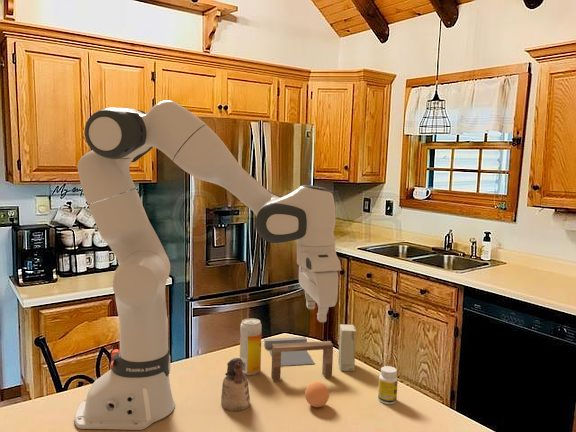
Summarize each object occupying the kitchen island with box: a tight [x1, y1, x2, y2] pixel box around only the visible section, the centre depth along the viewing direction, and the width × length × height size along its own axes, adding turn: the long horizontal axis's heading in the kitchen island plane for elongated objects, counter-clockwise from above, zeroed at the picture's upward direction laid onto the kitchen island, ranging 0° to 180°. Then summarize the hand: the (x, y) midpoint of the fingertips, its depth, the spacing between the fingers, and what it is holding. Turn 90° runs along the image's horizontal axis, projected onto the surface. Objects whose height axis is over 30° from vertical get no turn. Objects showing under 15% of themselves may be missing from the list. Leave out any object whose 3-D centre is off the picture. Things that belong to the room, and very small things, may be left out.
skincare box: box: [338, 323, 357, 372], centre depth 141 cm, size 6×4×12 cm
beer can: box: [239, 317, 263, 376], centre depth 136 cm, size 6×6×15 cm
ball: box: [304, 381, 330, 408], centre depth 118 cm, size 6×6×6 cm
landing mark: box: [268, 349, 315, 367], centre depth 147 cm, size 12×12×1 cm
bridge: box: [270, 340, 334, 382], centre depth 133 cm, size 3×17×10 cm, turn 102°
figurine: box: [220, 357, 251, 412], centre depth 117 cm, size 7×7×12 cm
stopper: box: [263, 336, 308, 350], centre depth 156 cm, size 14×2×2 cm, turn 102°
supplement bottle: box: [377, 365, 399, 405], centre depth 122 cm, size 5×5×8 cm
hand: (316, 314), depth 109 cm, fingers open, 8 cm apart
